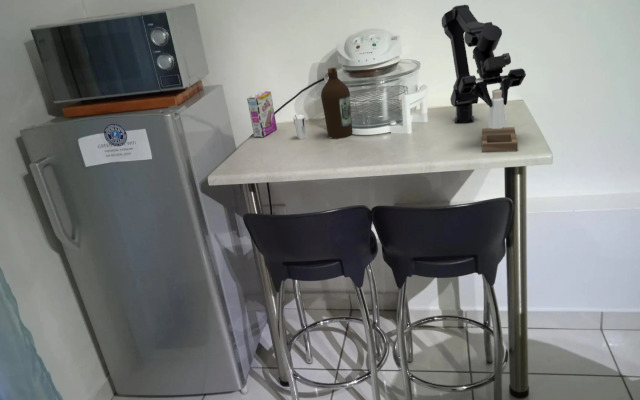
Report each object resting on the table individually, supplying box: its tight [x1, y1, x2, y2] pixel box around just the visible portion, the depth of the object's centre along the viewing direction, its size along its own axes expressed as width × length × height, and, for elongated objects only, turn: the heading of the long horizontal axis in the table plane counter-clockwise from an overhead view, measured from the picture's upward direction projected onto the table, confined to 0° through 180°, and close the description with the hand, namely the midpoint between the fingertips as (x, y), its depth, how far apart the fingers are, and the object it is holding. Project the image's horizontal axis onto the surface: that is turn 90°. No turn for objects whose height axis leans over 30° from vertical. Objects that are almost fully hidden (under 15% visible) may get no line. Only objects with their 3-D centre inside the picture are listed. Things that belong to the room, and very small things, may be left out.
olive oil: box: [320, 66, 353, 139], centre depth 181 cm, size 11×11×25 cm
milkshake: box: [292, 113, 307, 140], centre depth 187 cm, size 4×5×10 cm
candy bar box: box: [246, 90, 278, 139], centre depth 199 cm, size 11×5×16 cm, turn 154°
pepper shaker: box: [487, 88, 507, 129], centre depth 146 cm, size 5×5×11 cm
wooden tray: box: [481, 126, 519, 153], centre depth 153 cm, size 16×10×2 cm, turn 163°
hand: (498, 105), depth 144 cm, fingers closed on pepper shaker, 4 cm apart
